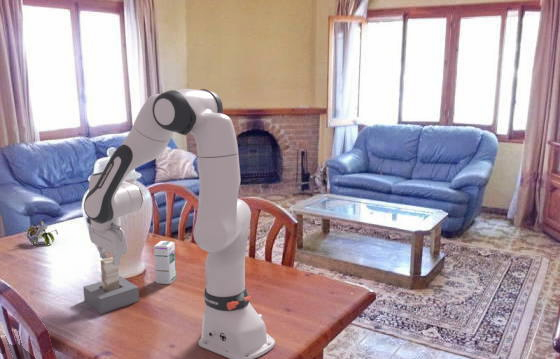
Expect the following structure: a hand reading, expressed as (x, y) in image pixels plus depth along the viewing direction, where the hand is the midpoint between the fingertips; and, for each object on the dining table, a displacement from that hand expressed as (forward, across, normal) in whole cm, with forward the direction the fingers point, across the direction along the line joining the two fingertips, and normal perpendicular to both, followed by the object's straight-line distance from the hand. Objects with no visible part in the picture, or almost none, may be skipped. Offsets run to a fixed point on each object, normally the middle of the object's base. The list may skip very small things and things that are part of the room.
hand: (109, 261), depth 161 cm
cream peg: (+14, 0, 0) cm, 14 cm away
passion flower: (+13, +78, -4) cm, 80 cm away
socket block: (+14, 0, 0) cm, 14 cm away
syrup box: (+14, +2, -22) cm, 26 cm away
